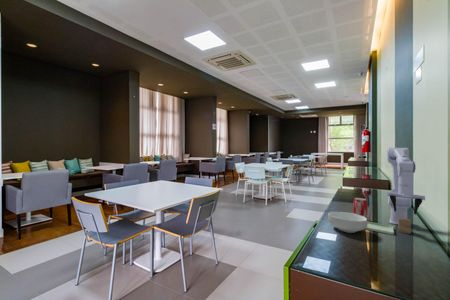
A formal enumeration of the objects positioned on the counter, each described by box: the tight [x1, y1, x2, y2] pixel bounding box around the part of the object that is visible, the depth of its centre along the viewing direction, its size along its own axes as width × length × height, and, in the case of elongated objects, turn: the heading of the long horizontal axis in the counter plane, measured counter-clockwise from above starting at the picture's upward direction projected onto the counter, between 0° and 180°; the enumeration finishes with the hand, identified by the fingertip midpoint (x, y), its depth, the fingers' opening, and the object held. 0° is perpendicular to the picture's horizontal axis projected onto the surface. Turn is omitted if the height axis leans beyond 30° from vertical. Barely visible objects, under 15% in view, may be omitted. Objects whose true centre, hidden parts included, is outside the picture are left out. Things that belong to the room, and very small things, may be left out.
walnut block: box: [397, 218, 412, 235], centre depth 110 cm, size 4×4×6 cm
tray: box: [363, 220, 395, 236], centre depth 112 cm, size 12×12×1 cm
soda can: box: [352, 197, 368, 220], centre depth 127 cm, size 7×7×12 cm
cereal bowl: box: [327, 211, 368, 234], centre depth 109 cm, size 17×17×7 cm
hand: (404, 212), depth 109 cm, fingers open, 7 cm apart
